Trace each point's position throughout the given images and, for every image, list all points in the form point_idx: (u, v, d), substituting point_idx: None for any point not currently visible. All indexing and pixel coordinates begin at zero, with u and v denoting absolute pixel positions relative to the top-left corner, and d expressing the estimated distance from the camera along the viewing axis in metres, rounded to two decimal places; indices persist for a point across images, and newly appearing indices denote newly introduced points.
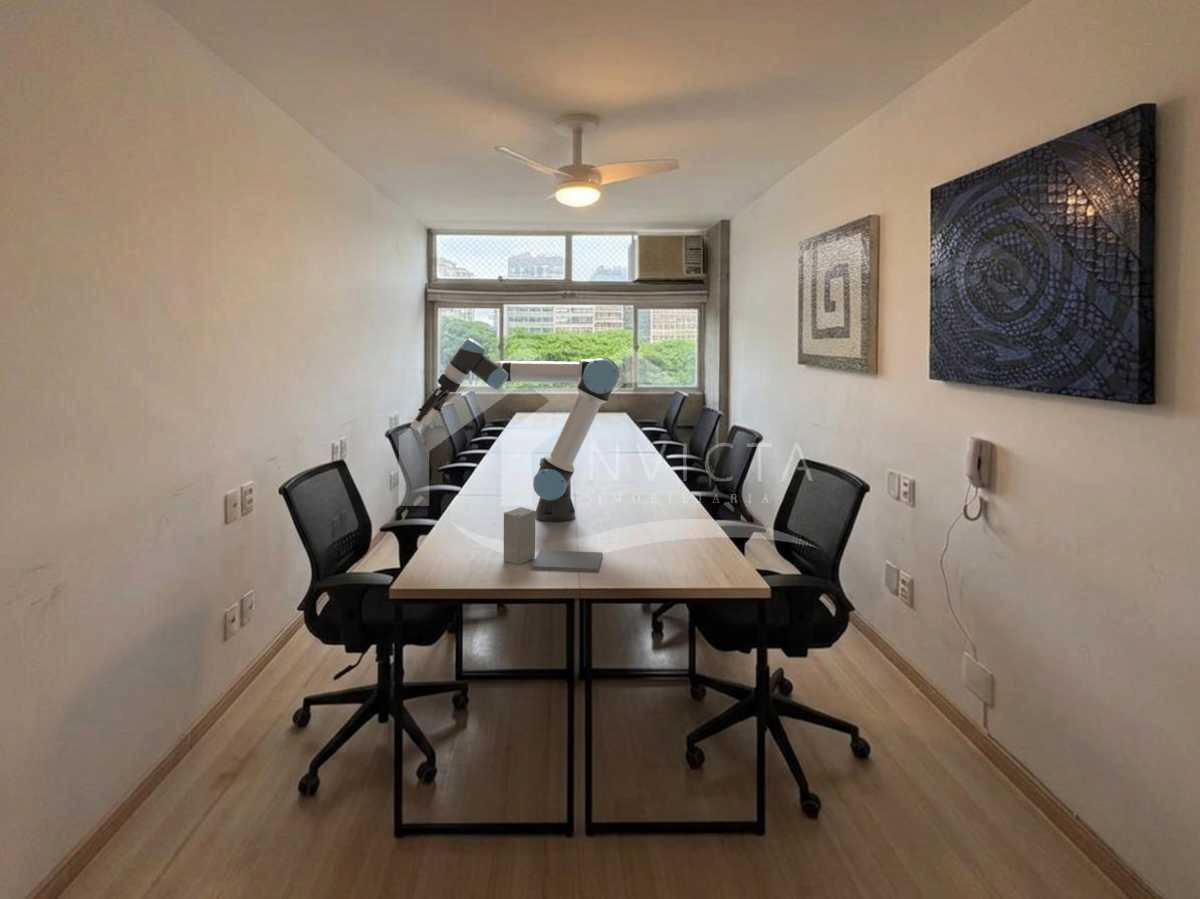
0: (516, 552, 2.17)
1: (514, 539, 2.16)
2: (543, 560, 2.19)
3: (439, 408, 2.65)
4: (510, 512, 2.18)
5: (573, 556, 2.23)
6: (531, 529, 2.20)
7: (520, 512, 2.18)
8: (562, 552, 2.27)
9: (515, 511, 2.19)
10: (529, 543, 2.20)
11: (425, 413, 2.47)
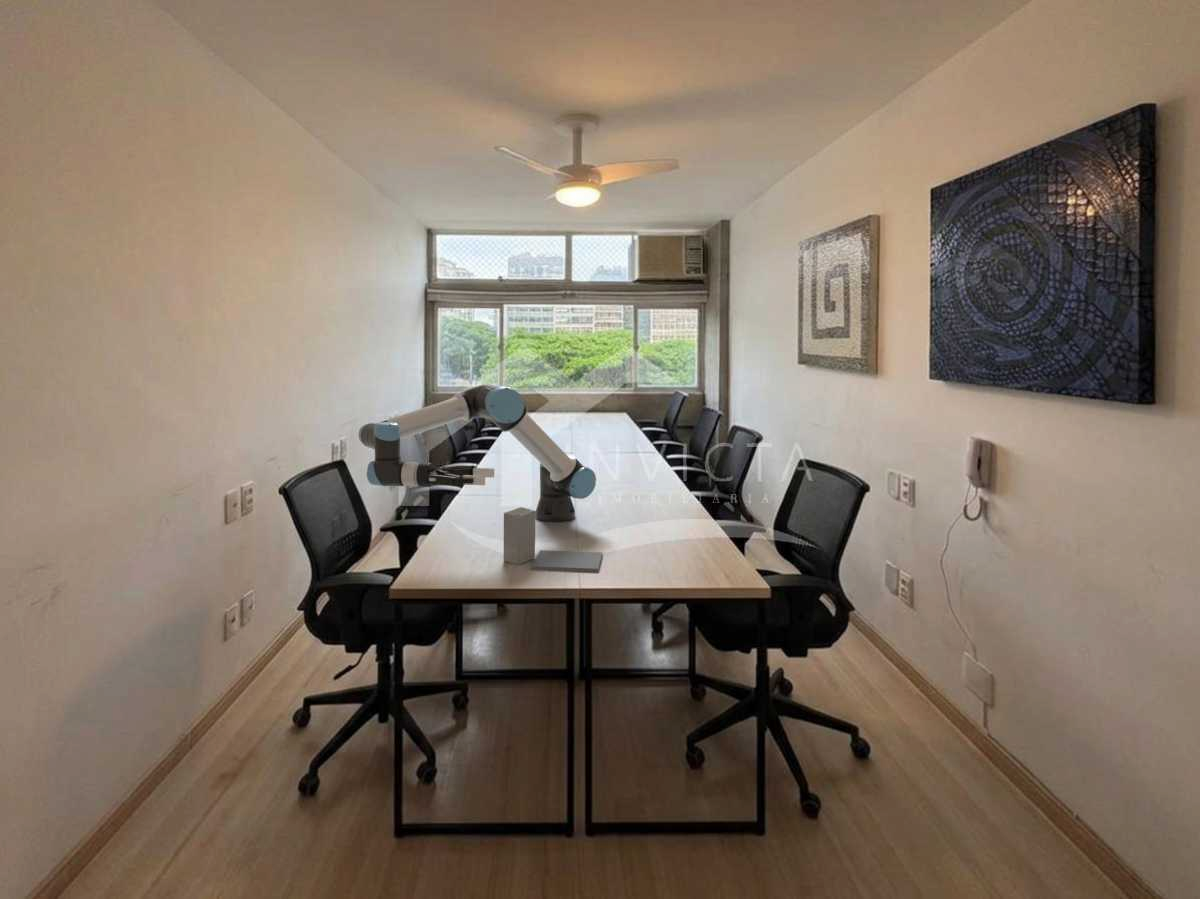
0: (516, 552, 2.17)
1: (514, 539, 2.16)
2: (543, 560, 2.19)
3: (470, 468, 2.25)
4: (510, 512, 2.18)
5: (573, 556, 2.23)
6: (531, 529, 2.20)
7: (520, 512, 2.18)
8: (562, 552, 2.27)
9: (515, 511, 2.19)
10: (529, 543, 2.20)
11: (456, 478, 2.10)
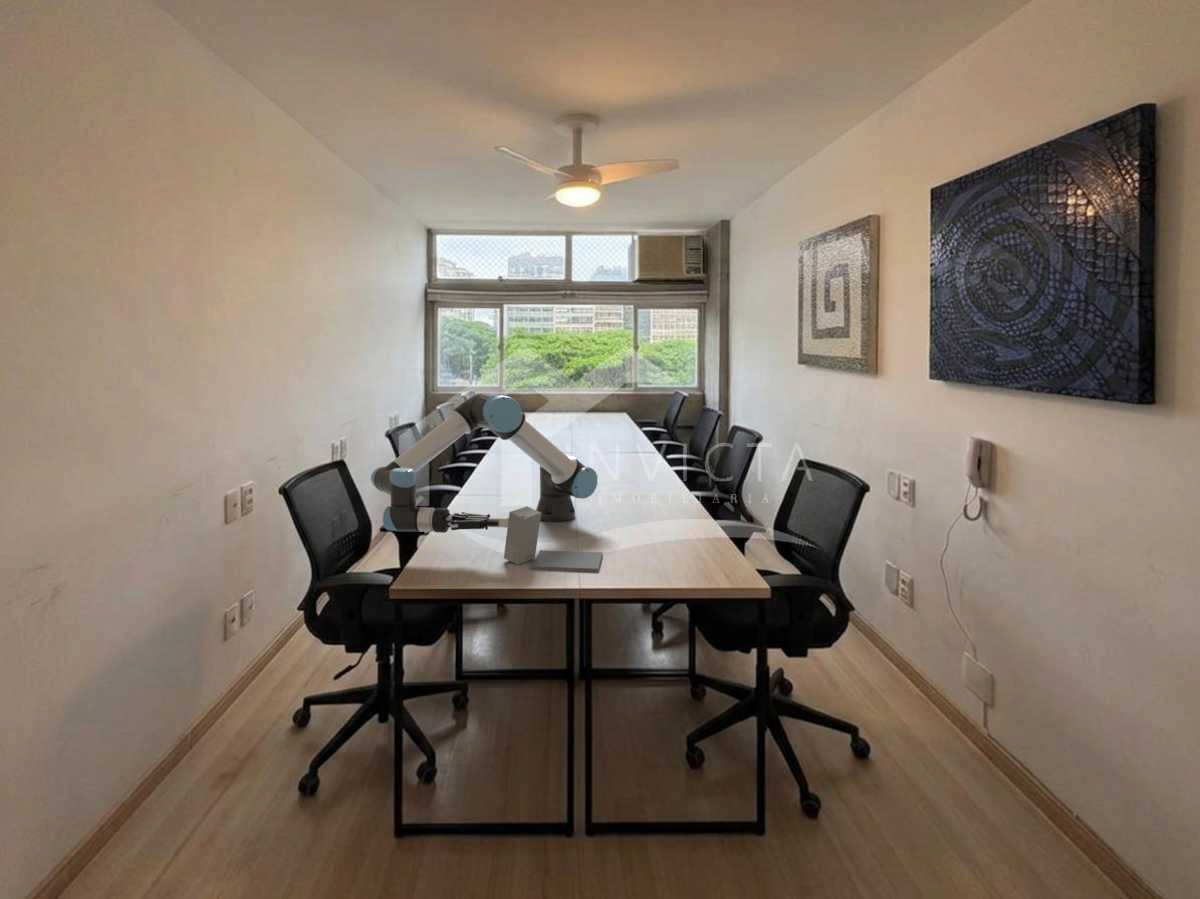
0: (518, 552, 2.17)
1: (517, 540, 2.16)
2: (543, 560, 2.19)
3: (486, 516, 2.22)
4: (516, 512, 2.17)
5: (573, 556, 2.23)
6: (534, 530, 2.19)
7: (525, 513, 2.17)
8: (562, 552, 2.27)
9: (521, 511, 2.18)
10: (531, 544, 2.20)
11: (483, 521, 2.16)
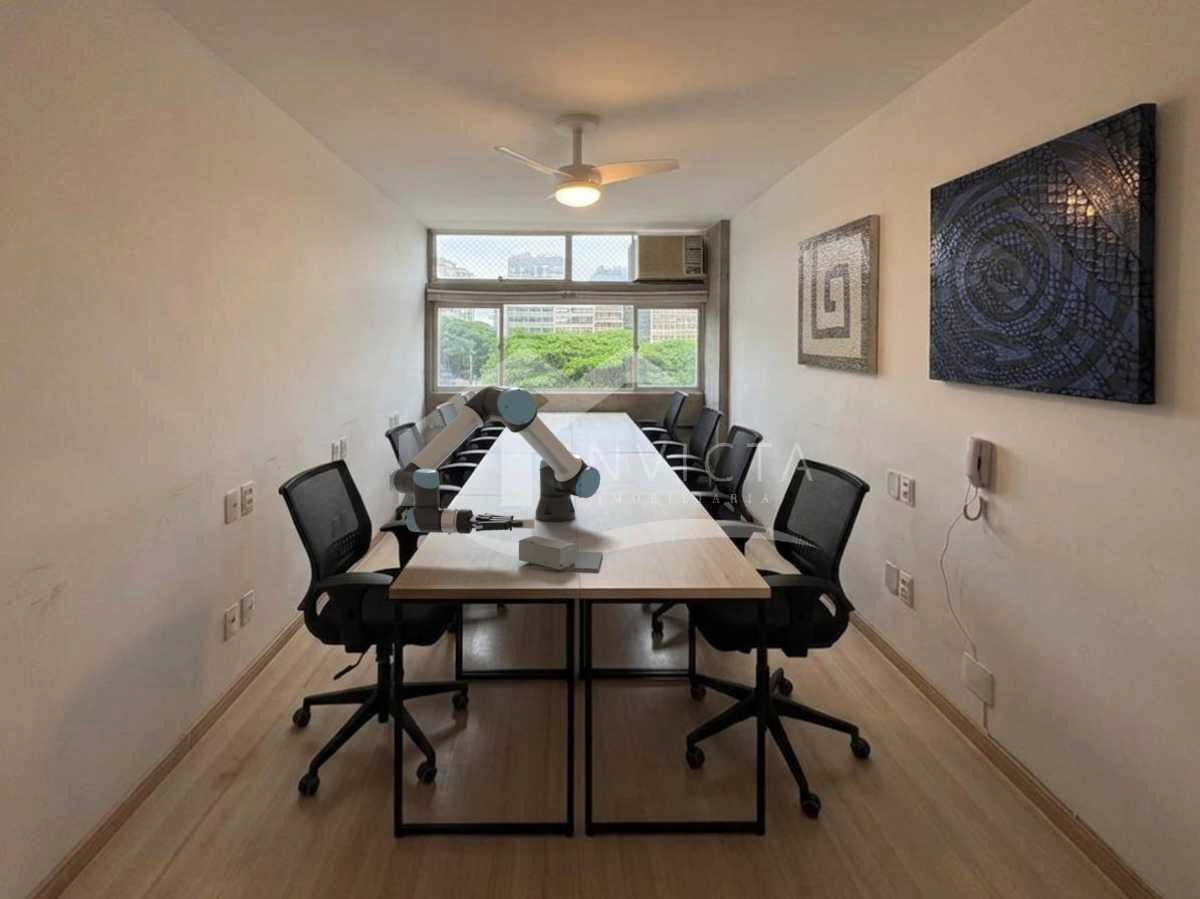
0: (529, 560, 2.15)
1: (539, 560, 2.13)
2: None
3: (510, 517, 2.21)
4: (563, 552, 2.10)
5: None
6: None
7: (567, 558, 2.12)
8: None
9: (566, 553, 2.11)
10: None
11: (507, 522, 2.16)
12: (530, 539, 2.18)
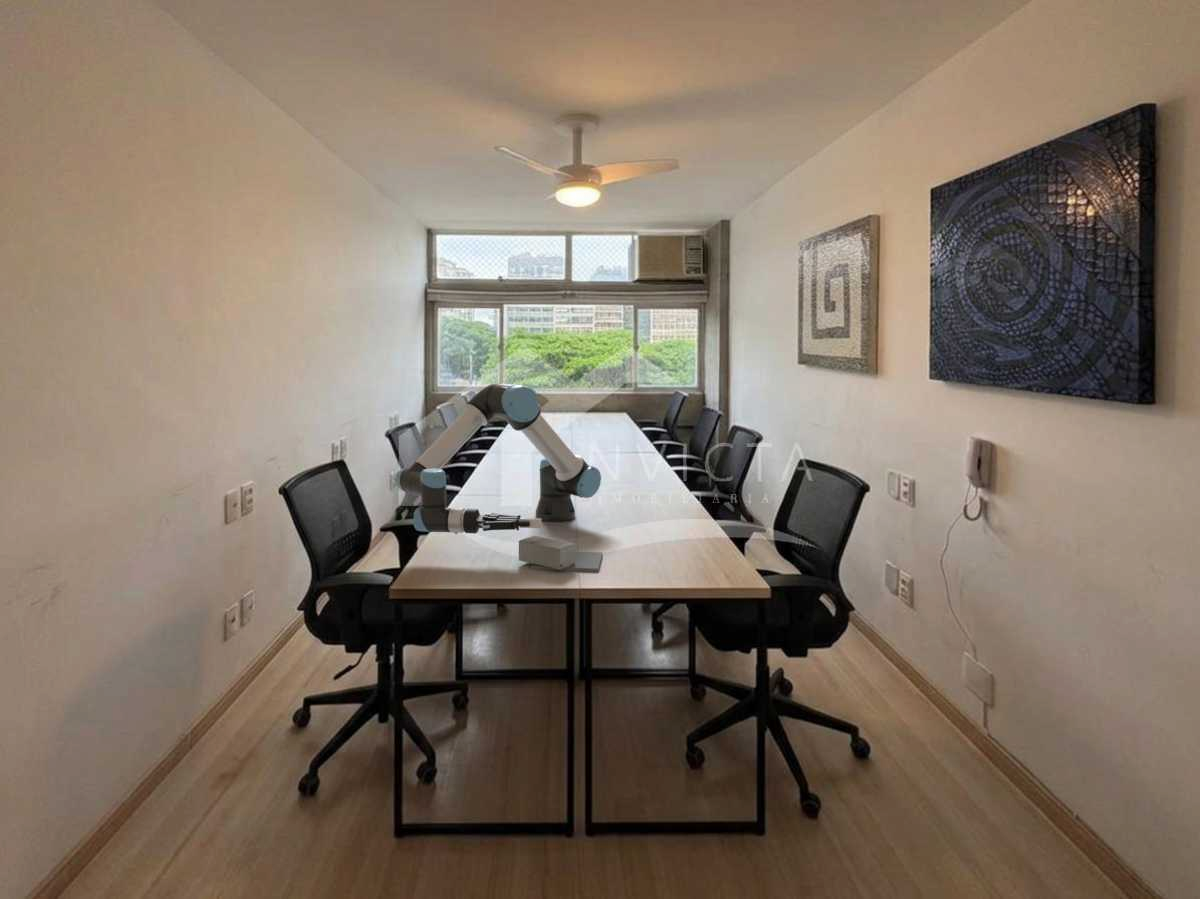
0: (529, 560, 2.15)
1: (539, 560, 2.13)
2: None
3: (517, 517, 2.21)
4: (563, 552, 2.10)
5: None
6: None
7: (567, 558, 2.12)
8: None
9: (566, 553, 2.11)
10: None
11: (514, 521, 2.16)
12: (530, 539, 2.18)
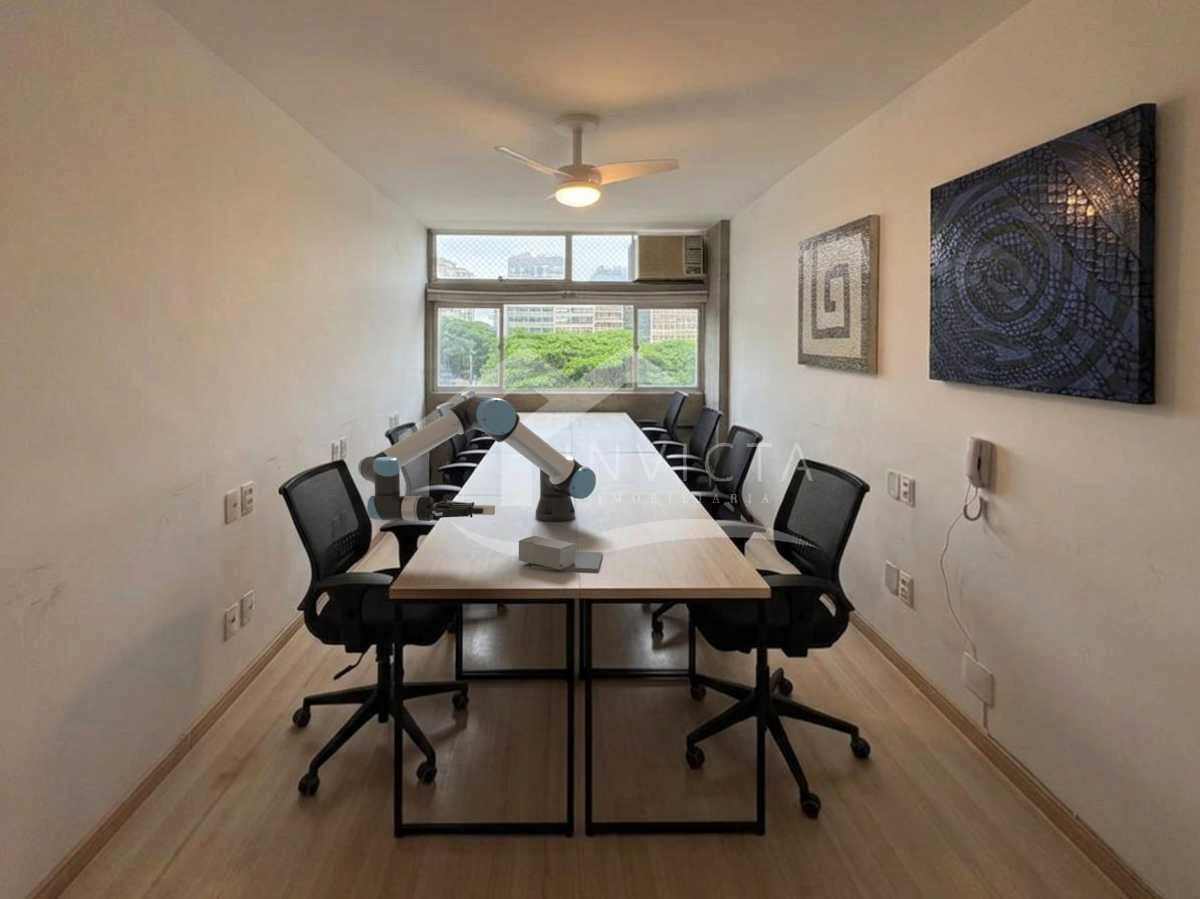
0: (529, 560, 2.15)
1: (539, 560, 2.13)
2: None
3: (470, 504, 2.22)
4: (563, 552, 2.10)
5: None
6: None
7: (567, 558, 2.12)
8: None
9: (566, 553, 2.11)
10: None
11: (467, 508, 2.17)
12: (530, 539, 2.18)
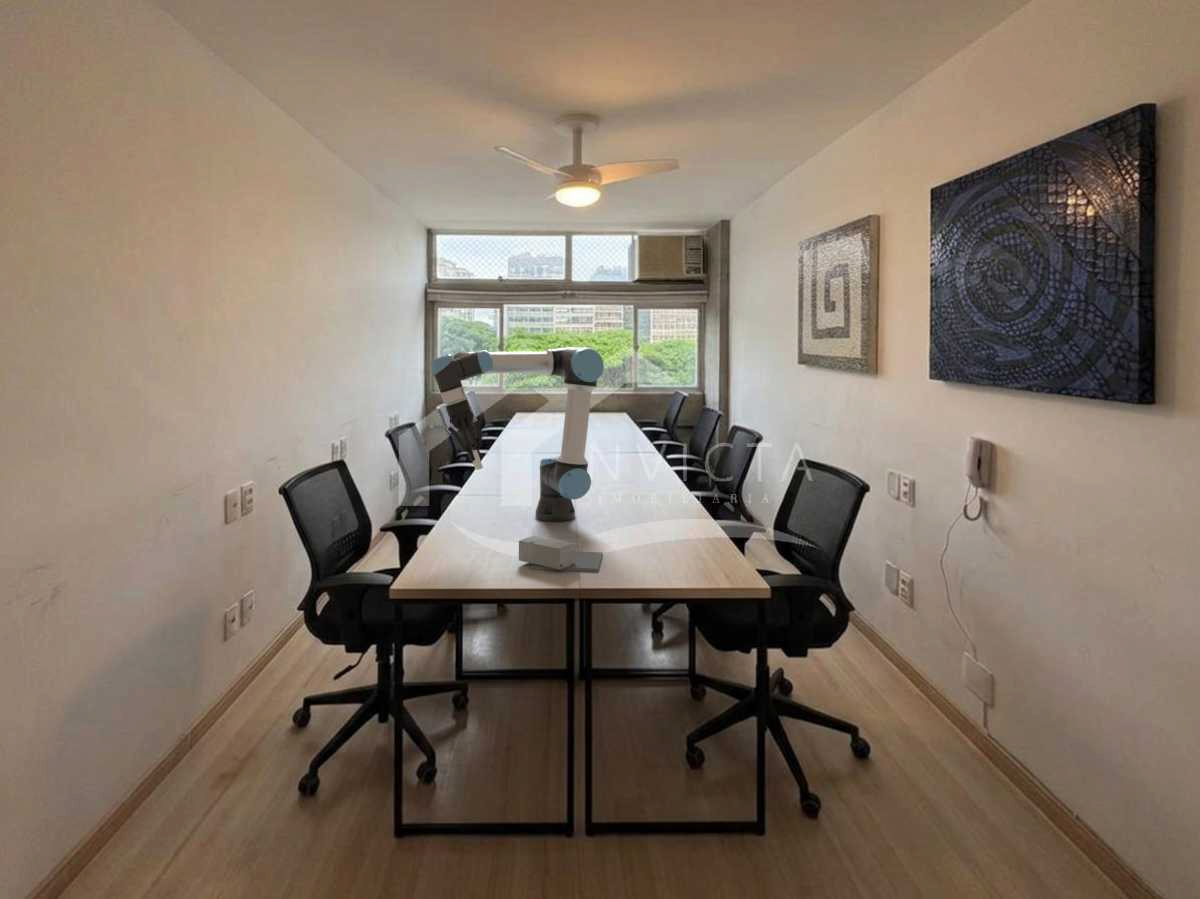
0: (529, 560, 2.15)
1: (539, 560, 2.13)
2: None
3: (477, 445, 2.39)
4: (563, 552, 2.10)
5: None
6: None
7: (567, 558, 2.12)
8: None
9: (566, 553, 2.11)
10: None
11: (465, 451, 2.37)
12: (530, 539, 2.18)
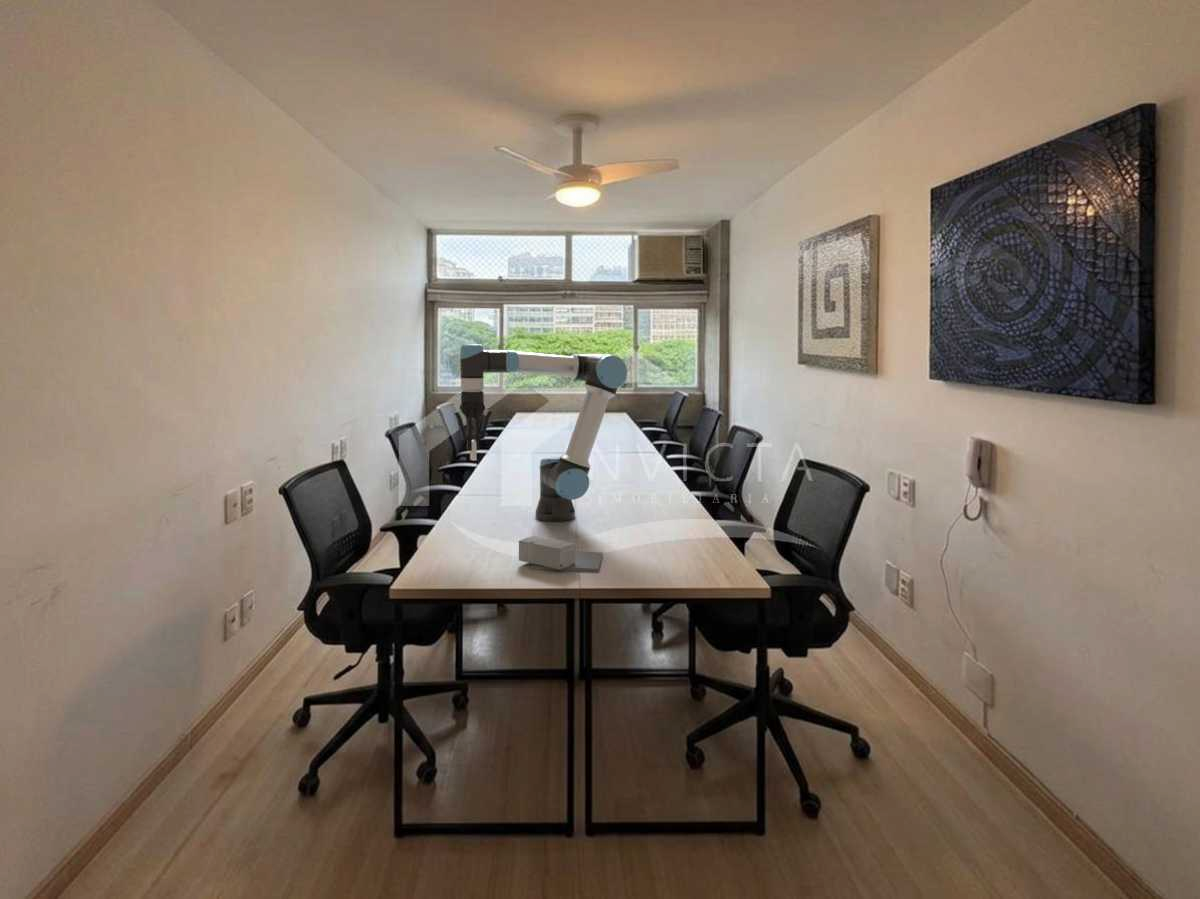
0: (529, 560, 2.15)
1: (539, 560, 2.13)
2: None
3: (478, 437, 2.43)
4: (563, 552, 2.10)
5: None
6: None
7: (567, 558, 2.12)
8: None
9: (566, 553, 2.11)
10: None
11: None
12: (530, 539, 2.18)
